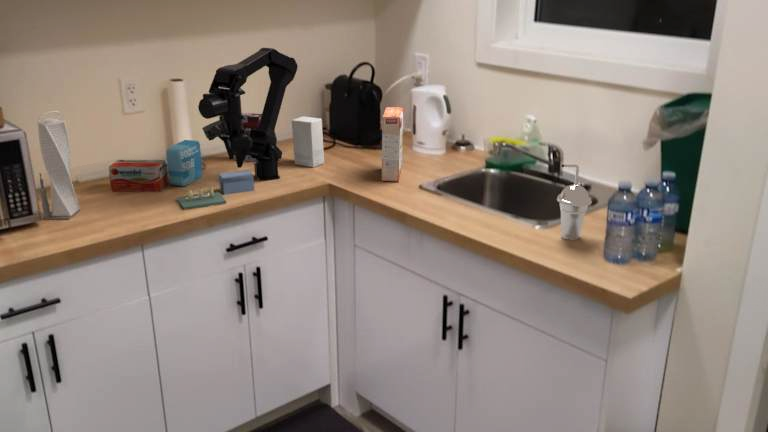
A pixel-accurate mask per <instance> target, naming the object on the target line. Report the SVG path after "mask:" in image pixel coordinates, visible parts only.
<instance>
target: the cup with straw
mask: <svg viewBox="0 0 768 432" xmlns="http://www.w3.org/2000/svg"><path fill="white" fill-rule="evenodd" d="M561 167H562V168H575V174H574V182H573V184H569V185H567V186H565V187H564V188H563V189H562V191H561V193H560V194H558V195H557V198H556V201H557V202H558V203H559V209H560V233H561V234H560V235H561V236H562V237H561V238H563V239H566V240H568V239H569V241H575V240H579V239H580V235H581V233H582V228H583V224H584V219H585V217H586V213H587V209H588V207H589V206H590V205H591V204H592V198H591V196H589V193H588V191H587V189H586V188H585V187H583V186H582V185H580V184H578V180H579V172H580V171H579V170H580V168H579V165H578V164H564V163H563V164H561Z"/></svg>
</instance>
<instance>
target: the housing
mask: <svg viewBox="0 0 768 432" xmlns="http://www.w3.org/2000/svg"><path fill="white" fill-rule="evenodd" d="M218 179H219V189H220V191H223V195H232V194H239V193H246V192H253V191H255V184H254V181H255V180H254V174H253V173H252V172H251V171H250V170H249V169H246V170H245V169H244V170H238V171H231V172H223V173H218Z"/></svg>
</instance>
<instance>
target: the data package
mask: <svg viewBox="0 0 768 432" xmlns="http://www.w3.org/2000/svg"><path fill="white" fill-rule="evenodd" d="M202 163H203V162H202V151H201V144H200V142H199V140H190V139H189V140H188V139H184V140H182V141H179V142H177V143H175V144H173V145H171V146H169V147H167V149H166V165H167V173H168V183H169V184H170V185H171V186H177V187H179V186H180V187H186V186H187V185H189V184H191V183H193V182H194V181H196V180H197V181H198V179H200V178H201V177H202V176H203V164H202Z"/></svg>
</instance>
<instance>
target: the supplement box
mask: <svg viewBox="0 0 768 432" xmlns="http://www.w3.org/2000/svg"><path fill="white" fill-rule="evenodd" d="M242 115H243V116H244V119H242V125H243V129H244V130H245V133H241V134H246V135H247V136H249V135H250V131H251V129H256V128H257V127H258V126H259V123H260V120H261V116H262V113H250V112H242ZM244 162H254V163H256V159H255V158H251V155H250V152H249V151H248V153H247V155H246V157H245V160H244Z"/></svg>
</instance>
